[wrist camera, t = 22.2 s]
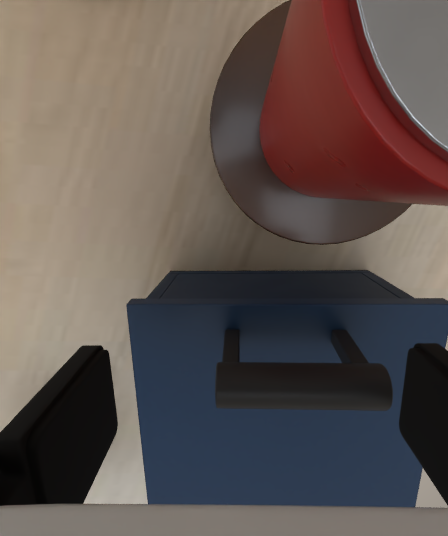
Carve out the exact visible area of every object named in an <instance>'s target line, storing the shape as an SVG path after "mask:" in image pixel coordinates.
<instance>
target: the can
mask: <svg viewBox="0 0 448 536" xmlns="http://www.w3.org/2000/svg"><path fill="white" fill-rule="evenodd" d="M259 130H260V141H261V147H262V150H263V153H264V156H265V159H266V161H267V163H268V165H269V166H270V168H271V170H272V171H273V173H274V174H275V175H276V176H277V177H278V178H279V179H280V180H281V181H282V182H283V183H284V184H285V185H287V186H288V187H289V188H291V189H292V190H294V191H296V192H299V193H301V194H304V195H307V196H311V197H316V198H331V199H347V200H363V201H379V202H395V203H411V204H427V205H443V206H448V0H292V1H291V5H290V8H289V12H288V16H287V19H286V23H285V27H284V30H283V34H282V38H281V41H280V45H279V49H278V52H277V56H276V60H275V63H274V67H273V71H272V74H271V78H270V82H269V85H268V89H267V93H266V96H265V100H264V104H263V107H262V112H261V117H260V127H259Z"/></svg>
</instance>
